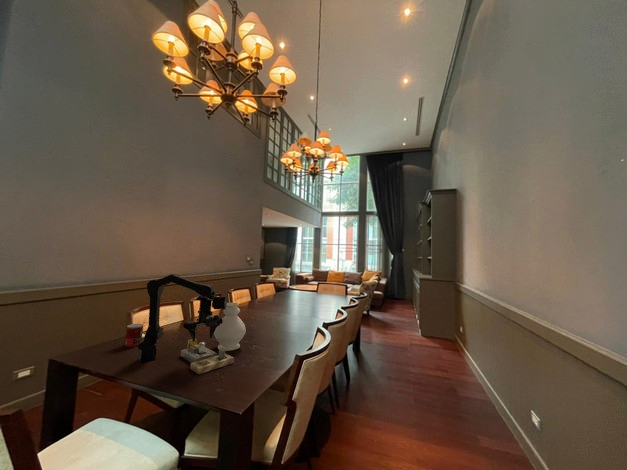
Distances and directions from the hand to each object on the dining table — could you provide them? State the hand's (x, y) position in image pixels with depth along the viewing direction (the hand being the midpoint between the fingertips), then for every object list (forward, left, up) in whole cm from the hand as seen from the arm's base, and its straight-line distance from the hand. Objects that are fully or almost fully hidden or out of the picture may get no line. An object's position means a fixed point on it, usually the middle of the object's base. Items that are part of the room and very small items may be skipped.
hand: (202, 339), depth 130 cm
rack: (0, -12, -10) cm, 15 cm away
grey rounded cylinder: (0, 0, -10) cm, 10 cm away
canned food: (-17, +44, -10) cm, 48 cm away
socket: (0, +2, -10) cm, 10 cm away
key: (0, +7, -6) cm, 9 cm away
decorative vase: (+20, +5, -10) cm, 23 cm away
